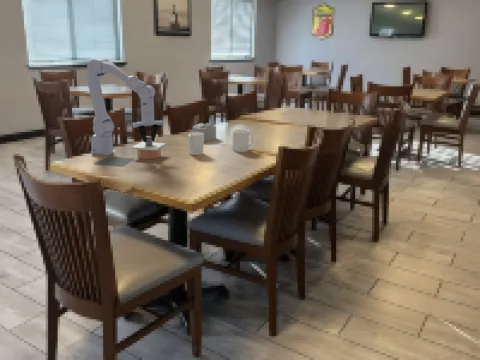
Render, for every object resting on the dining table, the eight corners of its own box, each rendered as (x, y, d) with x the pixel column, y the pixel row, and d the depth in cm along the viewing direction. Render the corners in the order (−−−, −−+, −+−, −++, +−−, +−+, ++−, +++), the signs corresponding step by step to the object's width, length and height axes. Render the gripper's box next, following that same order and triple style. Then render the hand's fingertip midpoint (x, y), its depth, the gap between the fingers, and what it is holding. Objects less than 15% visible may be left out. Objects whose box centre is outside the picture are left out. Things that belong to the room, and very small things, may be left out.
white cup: (201, 156, 218) (201, 135, 215) (185, 154, 220) (185, 134, 217) (205, 152, 226) (205, 132, 223) (190, 151, 227) (190, 131, 224)
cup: (229, 149, 232) (229, 130, 229) (248, 147, 238) (248, 128, 235) (238, 153, 225) (238, 133, 222) (257, 150, 232) (258, 130, 229)
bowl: (135, 158, 210) (134, 148, 209) (143, 153, 220) (143, 143, 218) (155, 160, 209) (154, 150, 207) (163, 155, 218) (162, 145, 216)
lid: (131, 148, 208) (131, 138, 207) (142, 143, 219) (141, 133, 218) (156, 150, 206) (155, 140, 204) (165, 144, 217) (165, 135, 216)
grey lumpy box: (190, 138, 255) (190, 123, 252) (209, 136, 262) (209, 121, 260) (200, 142, 247) (200, 126, 244) (220, 139, 255) (220, 124, 252)
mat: (93, 165, 199) (92, 164, 199) (108, 157, 212) (108, 156, 212) (122, 167, 196) (122, 166, 196) (136, 159, 209) (136, 158, 209)
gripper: (135, 114, 201) (137, 144, 205) (165, 112, 208) (166, 141, 212) (130, 112, 206) (131, 141, 210) (159, 110, 214) (160, 138, 218)
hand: (148, 141), depth 212 cm, fingers open, 3 cm apart
